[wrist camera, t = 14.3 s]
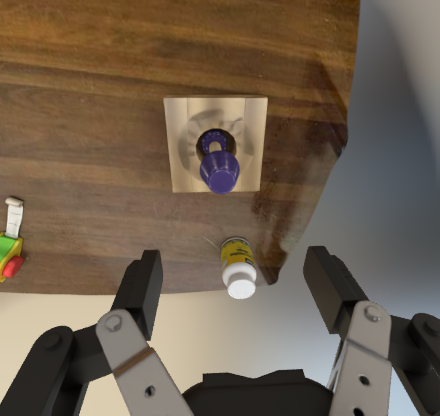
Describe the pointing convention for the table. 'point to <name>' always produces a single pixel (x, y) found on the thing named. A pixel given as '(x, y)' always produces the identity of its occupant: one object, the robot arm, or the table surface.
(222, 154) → the toy lamp
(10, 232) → the toy measuring tape
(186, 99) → the socket base
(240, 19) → the table surface
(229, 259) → the pill bottle
